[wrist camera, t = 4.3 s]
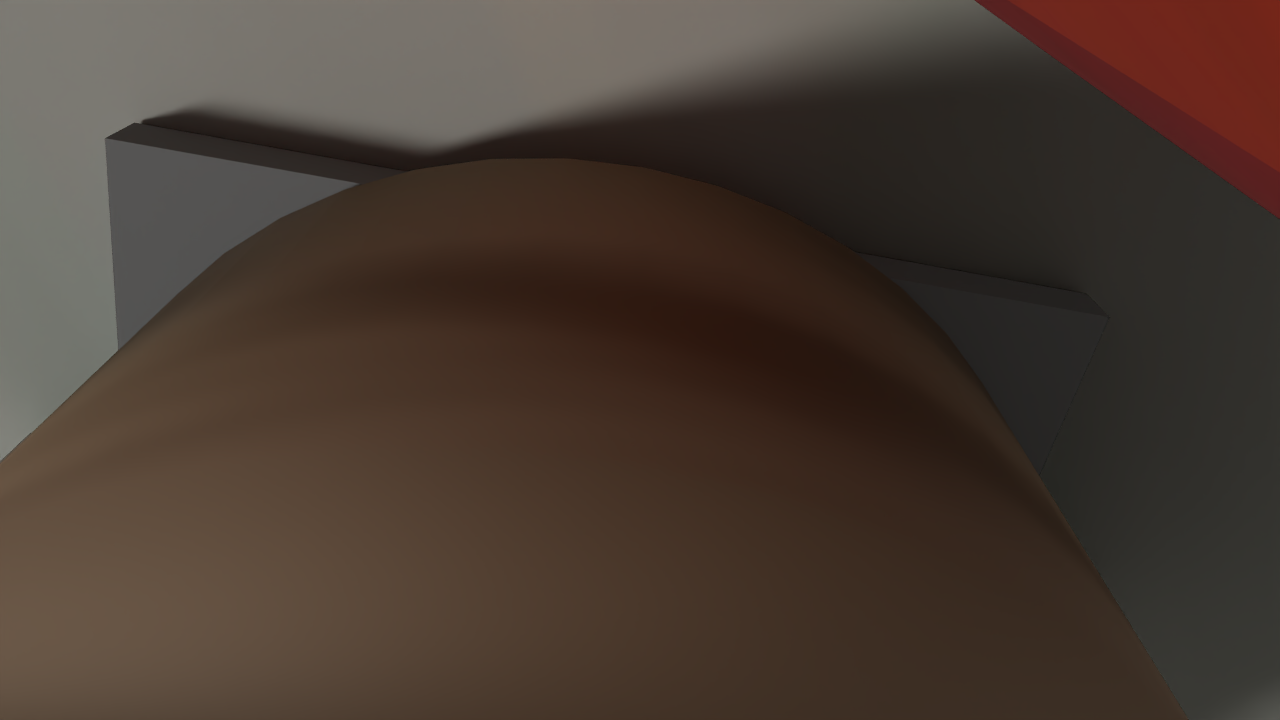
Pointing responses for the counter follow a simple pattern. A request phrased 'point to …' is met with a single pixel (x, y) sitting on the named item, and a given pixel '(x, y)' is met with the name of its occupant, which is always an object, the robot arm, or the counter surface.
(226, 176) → the mat
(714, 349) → the lid
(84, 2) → the counter surface
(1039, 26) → the paper cup
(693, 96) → the counter surface
